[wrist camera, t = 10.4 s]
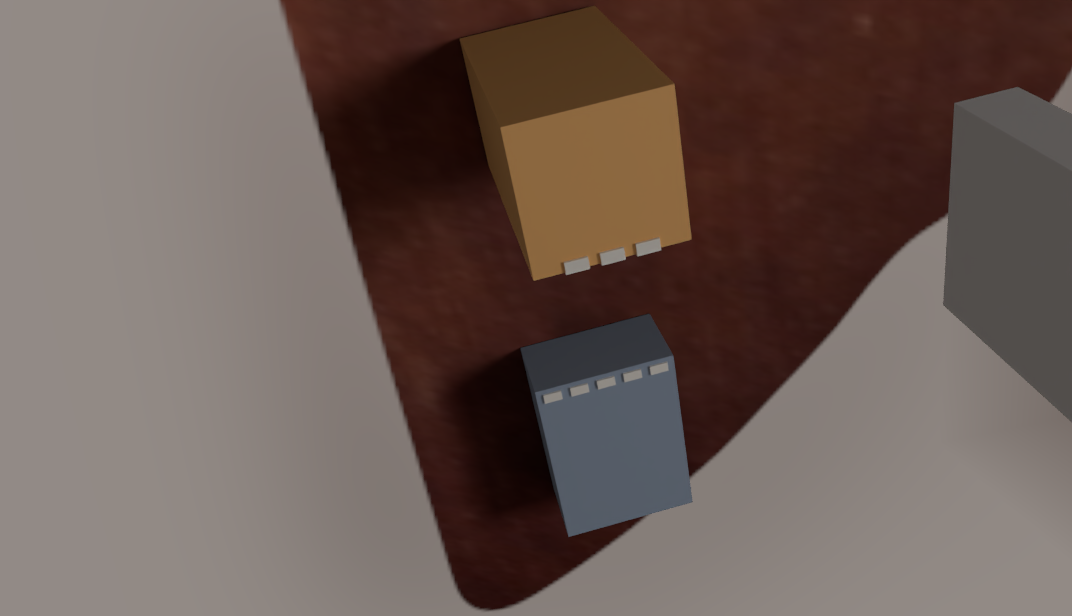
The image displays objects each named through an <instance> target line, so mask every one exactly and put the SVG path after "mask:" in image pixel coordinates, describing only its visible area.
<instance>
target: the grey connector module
mask: <svg viewBox="0 0 1072 616" xmlns="http://www.w3.org/2000/svg"><path fill="white" fill-rule="evenodd" d="M520 349H521V353H522V357H523V361H524V365H525V370H526V374H527V378H528V382H529V387H530V391H531V395H532V399H533V403H534V408H535V412H536V416H537V420H538V425H539V429H540V433H541V437H542V441H543V446H544V450H545V454H546V458H547V463H548V467H549V471H550V475H551V479H552V484H553V488H554V491H555V494H556V498H557V501H558V504H559V507H560V510H561V514H562V517H563V520H564V523H565V527H566V530H567V533H568V536H569V537H570V536H573V535H577V534H580V533H584V532H588V531H591V530H595V529H598V528H602V527H605V526H609V525H612V524H616V523H620V522H623V521H627V520H630V519H634V518H637V517H641V516H645V515H648V514H652V513H655V512H659V511H662V510H666V509H669V508H673V507H676V506H680V505H683V504H687V503H691V502H692V495H691V487H690V480H689V472H688V465H687V457H686V449H685V442H684V434H683V426H682V419H681V411H680V404H679V396H678V388H677V381H676V373H675V365H674V358H673V354H672V352H671V351H670V349H669V347H668V345H667V344H666V342H665V340H664V338H663V337H662V335H661V333H660V331H659V330H658V328H657V326H656V324H655V323H654V321H653V319H652V317H651V316H650V314H646V315H643V316H639V317H635V318H631V319H628V320H624V321H620V322H616V323H613V324H609V325H605V326H601V327H598V328H594V329H590V330H586V331H582V332H579V333H575V334H571V335H567V336H564V337H560V338H556V339H552V340H549V341H545V342H541V343H537V344H534V345H530V346H526V347H522V348H520Z"/></svg>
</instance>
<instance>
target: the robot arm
mask: <svg viewBox="0 0 1072 616" xmlns="http://www.w3.org/2000/svg"><path fill="white" fill-rule="evenodd" d="M943 304H944V306H945V307H946V308H947V309H949V311H951V313H953V314H954V315H955V316H956V317H957V318H958V319H959V320H960V321H961V322H962V323H964V324H965V325H966V326H967V327H968V328H969V329H970V330H971V331H973V333H975V334H976V335H977V336H978V337H979V338H980V339H981V340H982V341H983V342H984V343H985V344H987V345H988V346H989V347H990V348H991V349H992V350H993V351H994V352H995V353H996V354H998V355H999V356H1000V357H1001V358H1002V359H1003V360H1004V361H1005V362H1006V363H1007V364H1009V365H1010V366H1011V367H1012V368H1013V369H1014V370H1015V371H1016V372H1017V373H1019V375H1021V376H1022V377H1023V378H1024V379H1025V380H1026V381H1027V382H1028V383H1029V384H1030V385H1032V386H1033V387H1034V388H1035V389H1036V390H1037V391H1038V392H1039V393H1040V394H1041V395H1043V396H1044V397H1045V398H1046V399H1047V400H1048V401H1049V402H1050V403H1051V404H1052V405H1053V406H1055V407H1056V408H1057V409H1058V410H1059V411H1060V412H1061V413H1063V415H1064V416H1066V417H1067V418H1068V419H1069V420H1070V421H1071V422H1072V114H1071V113H1069V112H1067V111H1064V110H1062V109H1060V108H1058V107H1057V106H1054V105H1053V104H1051V103H1049V102H1047V101H1045V100H1043V99H1041V98H1039V97H1037V96H1035V95H1033V94H1031V93H1029V92H1027V91H1025V90H1023V89H1021V88H1019V87H1016V88H1012V89H1008V90H1004V91H1000V92H996V93H992V94H988V95H984V96H981V97H977V98H973V99H969V100H965V101H961V102H957V103H955V104H954V122H953V140H952V158H951V176H950V194H949V212H948V231H947V248H946V266H945V285H944V302H943Z"/></svg>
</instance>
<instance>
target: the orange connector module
mask: <svg viewBox="0 0 1072 616" xmlns="http://www.w3.org/2000/svg"><path fill="white" fill-rule="evenodd" d="M460 43H461V48H462V52H463V56H464V61H465V65H466V70H467V74H468V78H469V83H470V87H471V91H472V96H473V100H474V104H475V109H476V113H477V117H478V122H479V126H480V130H481V135H482V139H483V144H484V148H485V152H486V157H487V161H488V165H489V168H490V171H491V173H492V176H493V178H494V181H495V183H496V186H497V189H498V191H499V194H500V196H501V199H502V201H503V204H504V206H505V209H506V212H507V214H508V217H509V219H510V222H511V224H512V227H513V229H514V232H515V235H516V237H517V240H518V242H519V245H520V247H521V250H522V252H523V255H524V258H525V260H526V263H527V265H528V268H529V270H530V273H531V275H532V278H533V280H534V281H535V280H538V279H542V278H546V277H550V276H554V275H558V274H561V273H566V275H568V274H572V273H576V272H580V271H584V270H587V269H590V266H592V265H596V264H600V263H601V265H602V266H603V265H607V264H610V263H614V262H618V261H622V260H626V256H630V255H634V254H637V256H641V255H645V254H649V253H652V252H656V251H660V250H661V247H665V246H668V245H672V244H676V243H680V242H684V241H688V240H691V231H690V221H689V212H688V203H687V194H686V185H685V176H684V167H683V157H682V148H681V139H680V130H679V121H678V112H677V103H676V94H675V84H674V83H673V82H672V81H671V80H670V79H669V78H668V77H667V76H666V75H665V74H664V73H663V72H662V71H661V70H660V69H659V68H658V67H657V66H656V65H655V64H654V63H653V62H652V61H651V60H650V59H649V58H648V57H646V56H645V55H644V54H643V53H642V52H641V51H640V50H639V49H638V48H637V47H636V46H635V45H634V44H633V43H632V42H631V41H630V40H629V39H628V38H627V37H626V36H625V35H624V34H623V33H622V32H621V31H620V30H619V29H618V28H617V27H616V26H615V25H614V24H613V23H612V22H611V21H610V20H609V19H608V18H607V17H606V16H605V15H604V14H603V13H602V12H601V11H600V10H599V9H598V8H596V7H595V6H591V7H587V8H583V9H579V10H575V11H571V12H567V13H563V14H559V15H554V16H550V17H546V18H542V19H538V20H534V21H530V22H526V23H522V24H517V25H513V26H509V27H505V28H501V29H497V30H493V31H489V32H485V33H480V34H476V35H472V36H468V37H464V38H460Z"/></svg>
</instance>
